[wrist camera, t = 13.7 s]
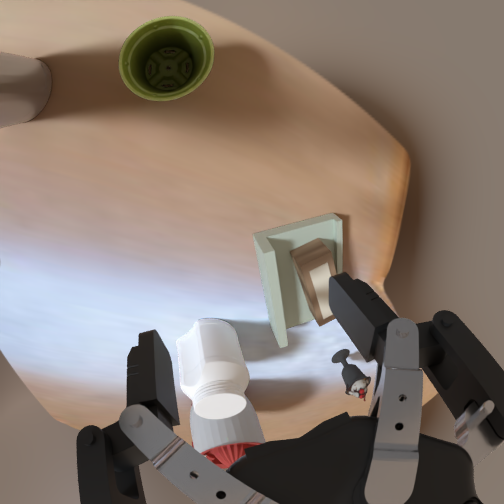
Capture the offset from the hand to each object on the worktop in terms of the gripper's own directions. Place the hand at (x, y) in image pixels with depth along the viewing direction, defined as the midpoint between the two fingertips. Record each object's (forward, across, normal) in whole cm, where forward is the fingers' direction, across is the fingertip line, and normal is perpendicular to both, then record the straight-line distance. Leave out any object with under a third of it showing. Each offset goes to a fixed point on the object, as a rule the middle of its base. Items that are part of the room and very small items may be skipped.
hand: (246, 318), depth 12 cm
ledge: (+28, -13, +22) cm, 38 cm away
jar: (+29, +6, +31) cm, 43 cm away
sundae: (+28, -22, +51) cm, 62 cm away
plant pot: (+29, 0, -14) cm, 32 cm away
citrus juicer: (+28, +10, +51) cm, 59 cm away
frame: (+26, -15, +22) cm, 37 cm away
